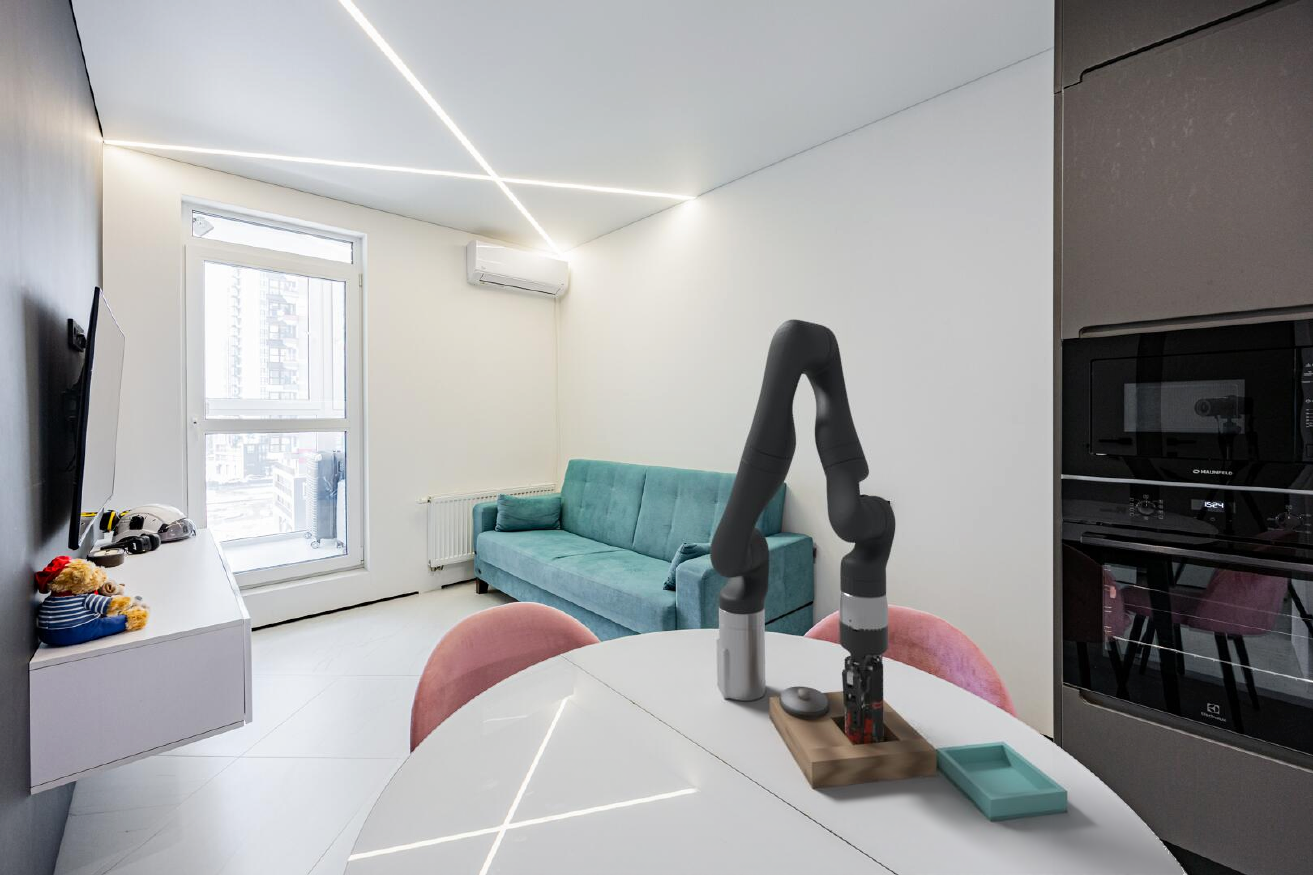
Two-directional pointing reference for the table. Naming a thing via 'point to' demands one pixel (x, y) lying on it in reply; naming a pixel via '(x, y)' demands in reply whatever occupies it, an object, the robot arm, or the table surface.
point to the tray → (1001, 781)
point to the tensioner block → (846, 741)
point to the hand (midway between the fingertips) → (863, 718)
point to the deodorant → (868, 709)
